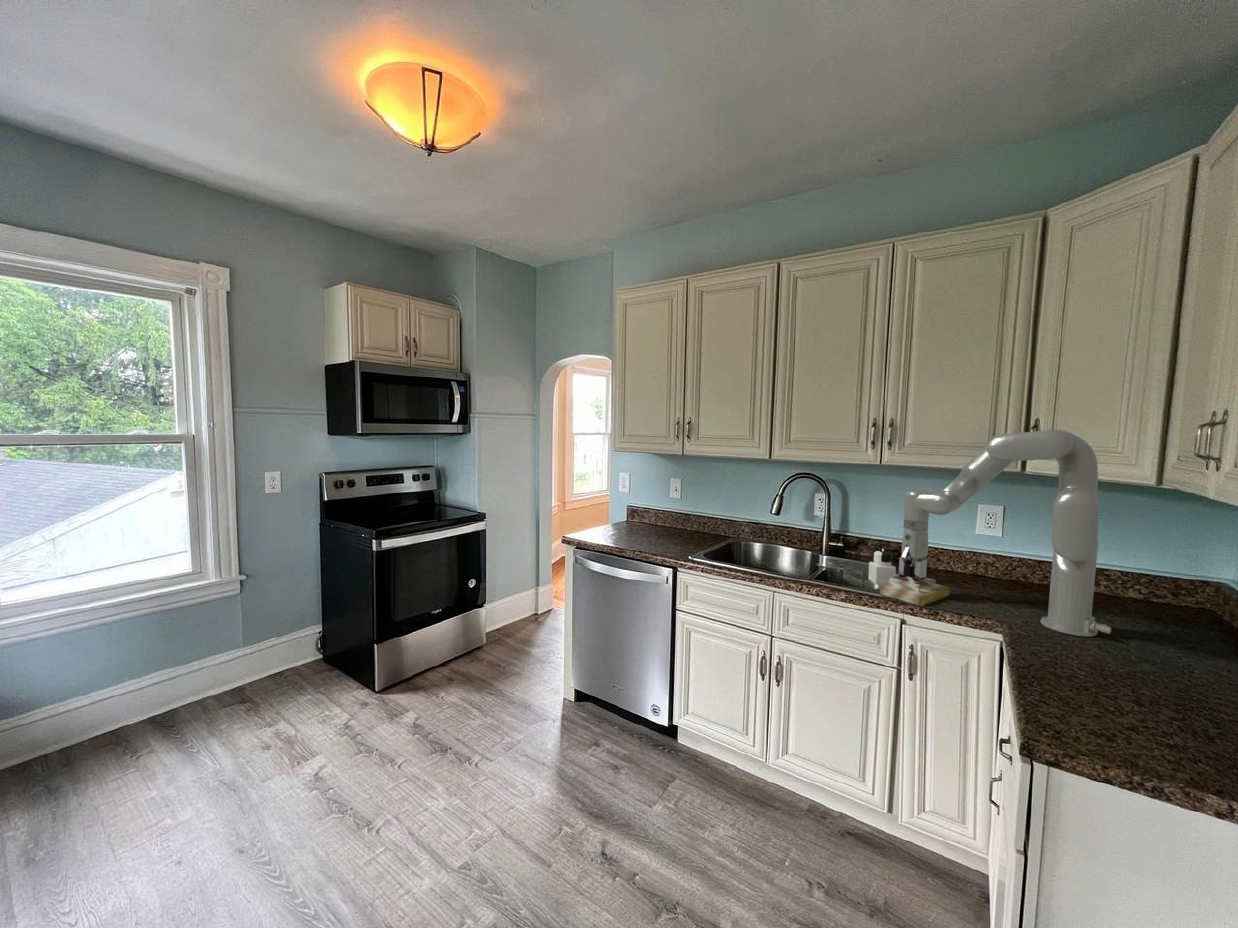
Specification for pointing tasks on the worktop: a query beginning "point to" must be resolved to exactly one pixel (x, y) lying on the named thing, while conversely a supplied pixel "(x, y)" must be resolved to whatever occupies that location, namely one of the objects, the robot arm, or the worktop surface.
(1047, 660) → the worktop surface
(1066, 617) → the robot arm
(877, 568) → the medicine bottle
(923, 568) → the grey block
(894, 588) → the loading dock
